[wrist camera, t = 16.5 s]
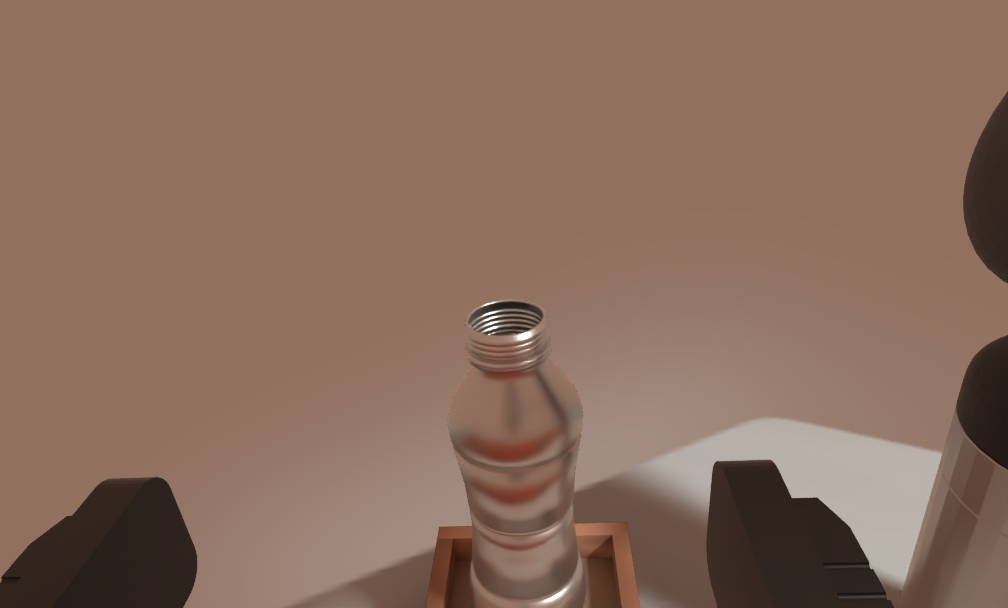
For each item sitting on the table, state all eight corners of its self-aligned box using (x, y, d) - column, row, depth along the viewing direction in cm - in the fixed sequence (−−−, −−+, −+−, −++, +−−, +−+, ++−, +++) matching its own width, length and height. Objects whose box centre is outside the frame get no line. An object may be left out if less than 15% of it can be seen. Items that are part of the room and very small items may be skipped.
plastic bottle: (463, 586, 41) (420, 300, 32) (567, 559, 42) (554, 275, 33) (486, 683, 35) (441, 369, 26) (605, 649, 37) (603, 337, 27)
